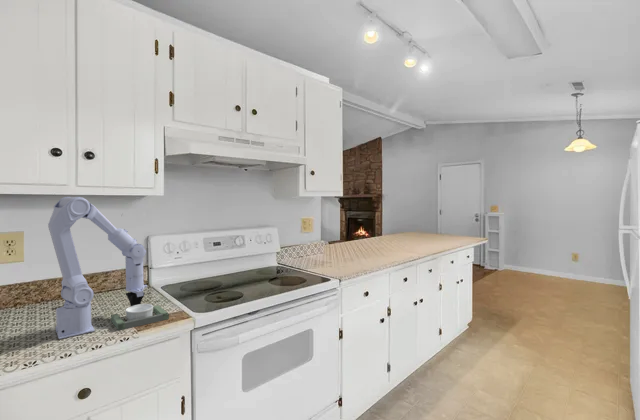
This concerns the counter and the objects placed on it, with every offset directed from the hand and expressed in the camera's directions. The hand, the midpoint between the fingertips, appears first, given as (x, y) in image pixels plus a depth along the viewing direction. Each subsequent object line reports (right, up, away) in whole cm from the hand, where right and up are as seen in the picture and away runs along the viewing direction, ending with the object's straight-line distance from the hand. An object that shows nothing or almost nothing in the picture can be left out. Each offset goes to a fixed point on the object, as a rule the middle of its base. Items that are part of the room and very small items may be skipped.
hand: (135, 311), depth 128 cm
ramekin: (+4, -2, -4) cm, 6 cm away
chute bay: (+4, -2, -4) cm, 6 cm away
